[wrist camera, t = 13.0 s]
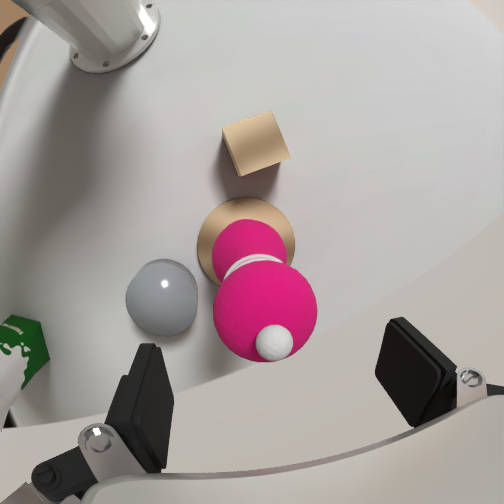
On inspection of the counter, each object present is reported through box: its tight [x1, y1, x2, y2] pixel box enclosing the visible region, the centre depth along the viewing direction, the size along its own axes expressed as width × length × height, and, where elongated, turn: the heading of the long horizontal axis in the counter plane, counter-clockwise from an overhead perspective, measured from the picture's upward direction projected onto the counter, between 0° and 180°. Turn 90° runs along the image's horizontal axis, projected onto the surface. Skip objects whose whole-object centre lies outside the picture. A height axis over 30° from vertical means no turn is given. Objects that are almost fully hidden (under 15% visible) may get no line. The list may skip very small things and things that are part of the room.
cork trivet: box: [197, 198, 295, 286], centre depth 32 cm, size 11×11×1 cm
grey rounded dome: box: [126, 259, 198, 336], centre depth 30 cm, size 8×8×4 cm
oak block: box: [222, 111, 291, 177], centre depth 27 cm, size 5×5×5 cm
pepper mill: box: [212, 219, 317, 362], centre depth 21 cm, size 7×7×20 cm
